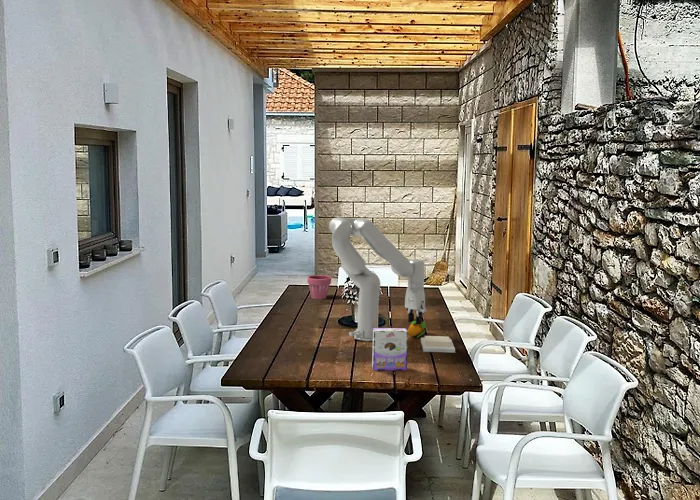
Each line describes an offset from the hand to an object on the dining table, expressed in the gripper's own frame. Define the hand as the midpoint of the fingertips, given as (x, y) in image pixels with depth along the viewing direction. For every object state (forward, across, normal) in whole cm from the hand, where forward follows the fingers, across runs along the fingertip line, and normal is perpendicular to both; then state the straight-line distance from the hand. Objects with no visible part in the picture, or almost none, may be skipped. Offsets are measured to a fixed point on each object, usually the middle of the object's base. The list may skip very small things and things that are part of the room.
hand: (414, 322), depth 363 cm
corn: (+7, +1, 0) cm, 7 cm away
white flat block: (+7, +21, -4) cm, 22 cm away
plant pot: (+7, -105, +15) cm, 106 cm away
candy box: (+7, +38, -46) cm, 60 cm away
